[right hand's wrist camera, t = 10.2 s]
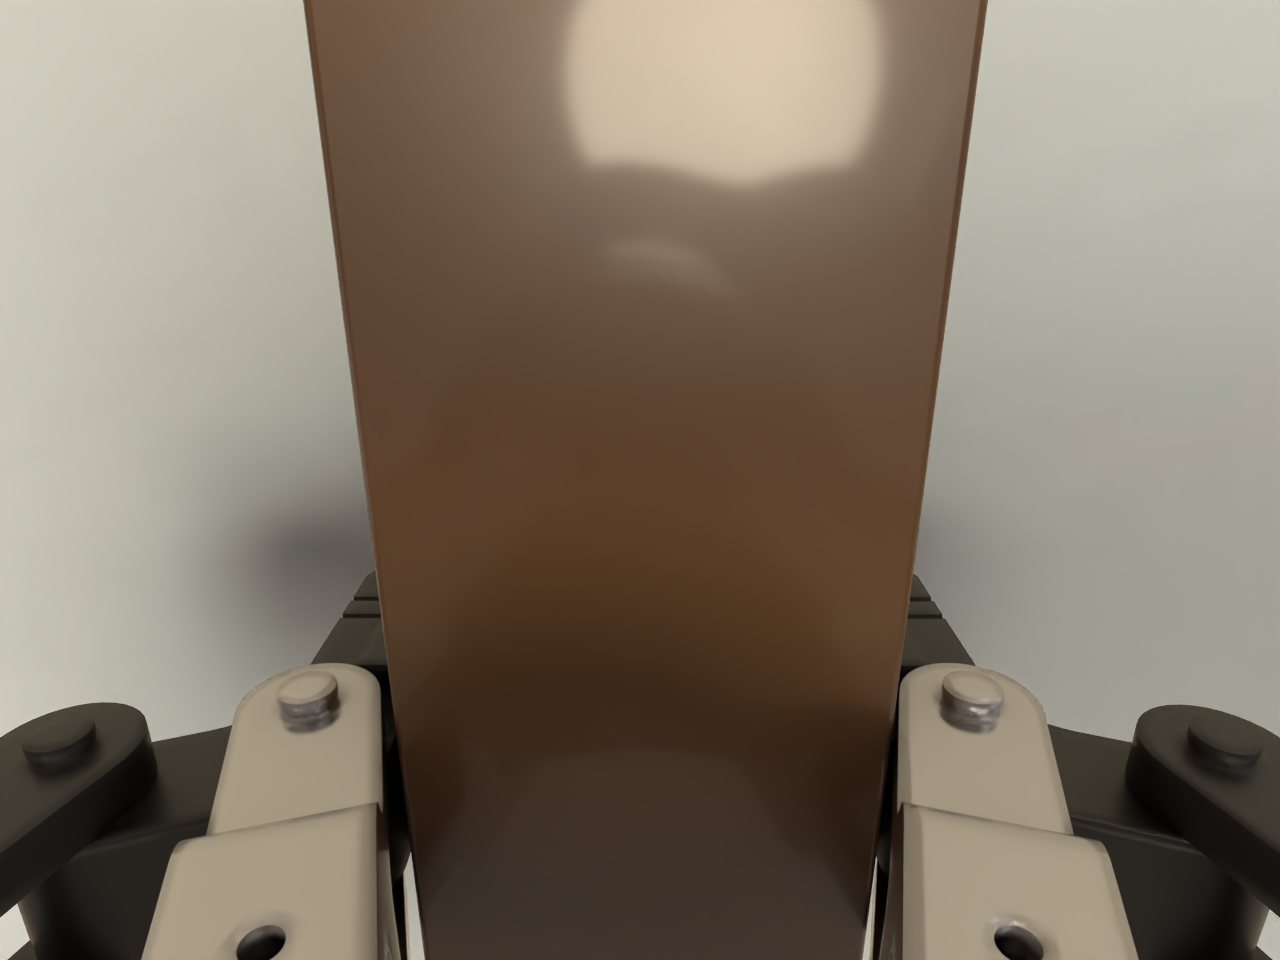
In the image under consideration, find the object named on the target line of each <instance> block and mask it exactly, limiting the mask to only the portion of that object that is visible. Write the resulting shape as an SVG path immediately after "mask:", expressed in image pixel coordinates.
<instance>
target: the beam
mask: <svg viewBox="0 0 1280 960" xmlns="http://www.w3.org/2000/svg"><path fill="white" fill-rule="evenodd" d="M987 3H988V0H303V4H304V12H305V20H306V28H307V36H308V44H309V52H310V60H311V67H312V75H313V83H314V91H315V99H316V107H317V115H318V123H319V130H320V138H321V146H322V154H323V162H324V170H325V178H326V186H327V193H328V201H329V209H330V217H331V225H332V233H333V241H334V248H335V256H336V264H337V272H338V280H339V288H340V296H341V304H342V311H343V319H344V327H345V335H346V343H347V351H348V359H349V367H350V374H351V382H352V390H353V398H354V406H355V414H356V422H357V429H358V437H359V445H360V453H361V461H362V469H363V477H364V485H365V492H366V500H367V508H368V516H369V524H370V532H371V540H372V548H373V555H374V563H375V571H376V579H377V587H378V595H379V603H380V611H381V618H382V626H383V634H384V642H385V650H386V658H387V666H388V674H389V681H390V689H391V697H392V705H393V713H394V721H395V729H396V736H397V744H398V752H399V760H400V768H401V776H402V784H403V792H404V799H405V807H406V815H407V823H408V831H409V839H410V847H411V855H412V862H413V870H414V878H415V886H416V894H417V902H418V910H419V917H420V925H421V933H422V941H423V949H424V957H425V960H862V959H863V951H864V944H865V936H866V928H867V921H868V913H869V905H870V898H871V890H872V882H873V875H874V867H875V860H876V852H877V844H878V837H879V829H880V821H881V814H882V806H883V798H884V791H885V783H886V775H887V768H888V760H889V752H890V745H891V737H892V730H893V722H894V714H895V707H896V699H897V691H898V684H899V676H900V668H901V661H902V653H903V645H904V638H905V630H906V622H907V615H908V607H909V600H910V592H911V584H912V577H913V569H914V561H915V554H916V546H917V538H918V531H919V523H920V515H921V508H922V500H923V492H924V485H925V477H926V470H927V462H928V454H929V447H930V439H931V431H932V424H933V416H934V408H935V401H936V393H937V385H938V378H939V370H940V363H941V355H942V347H943V340H944V332H945V324H946V317H947V309H948V301H949V294H950V286H951V278H952V271H953V263H954V255H955V248H956V240H957V233H958V225H959V217H960V210H961V202H962V194H963V187H964V179H965V171H966V164H967V156H968V148H969V141H970V133H971V125H972V118H973V110H974V103H975V95H976V87H977V80H978V72H979V64H980V57H981V49H982V41H983V34H984V26H985V18H986V11H987Z"/></svg>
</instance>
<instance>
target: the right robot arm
mask: <svg viewBox="0 0 1280 960" xmlns="http://www.w3.org/2000/svg"><path fill="white" fill-rule="evenodd" d="M410 852H411V847H410V839H409V831H408V823H407V815H406V807H405V799H404V792H403V784H402V776H401V768H400V760H399V752H398V744H397V736H396V729H395V721H394V713H393V705H392V697H391V689H390V681H389V674H388V666H387V658H386V650H385V642H384V634H383V626H382V618H381V611H380V603H379V595H378V587H377V579H376V571H374V572H373V573H371V574H370V575H368V576H367V577H366V579H365V580H364V582H363V583H362V585H361V587H360V588H359V590H358V591H357V593H356V594H355V596H354V601H351V602H350V604H349V605H348V607H347V608H346V610H345V611H344V613H343V618H340V619H339V621H338V622H337V624H336V625H335V627H334V629H333V630H332V632H331V633H330V635H329V636H328V638H327V639H326V641H325V643H324V644H323V646H322V647H321V649H320V650H319V652H318V653H317V655H316V657H315V658H314V660H313V661H312V663H311V664H310V665H308V666H303V667H299V668H295V669H292V670H288V671H286V672H283V673H281V674H278V675H276V676H274V677H272V678H270V679H268V680H266V681H264V682H263V683H261V684H259V685H258V686H257V687H255V688H254V689H253V690H251V691H250V692H249V693H248V694H247V695H246V696H245V697H244V698H243V699H242V701H241V702H240V704H239V705H238V707H237V710H236V712H235V716H234V720H233V724H232V725H231V726H228V727H224V728H220V729H216V730H212V731H207V732H202V733H196V734H191V735H186V736H181V737H176V738H171V739H166V740H161V741H156V742H152V741H151V738H150V734H149V730H148V726H147V722H146V719H145V716H144V715H143V714H142V713H141V712H140V711H139V710H137V709H136V708H134V707H131V706H128V705H125V704H119V703H90V704H84V705H78V706H73V707H69V708H65V709H61V710H58V711H55V712H52V713H48V714H46V715H43V716H41V717H38V718H36V719H33V720H31V721H29V722H27V723H25V724H23V725H21V726H19V727H17V728H15V729H14V730H12V731H10V732H9V733H7V734H5V735H4V736H2V737H1V738H0V917H1V916H2V915H4V914H5V913H6V912H7V911H8V910H10V909H11V908H12V907H13V906H14V905H16V904H18V907H19V910H20V912H21V915H22V918H23V921H24V924H25V927H26V929H27V932H28V935H29V938H30V941H28V942H27V943H26V944H25V945H24V946H23V947H22V948H20V949H19V950H18V951H17V952H16V953H15V954H14V955H13V956H11V957H10V958H9V959H8V960H410V945H409V925H408V905H407V890H406V882H405V874H404V870H405V867H406V865H407V862H408V859H409V856H410ZM876 856H877V866H876V874H875V881H874V889H873V903H872V923H871V942H870V960H1272V959H1271V958H1270V957H1269V956H1267V955H1266V954H1265V953H1264V952H1263V951H1262V950H1261V949H1260V948H1258V947H1257V946H1256V945H1257V943H1258V940H1259V937H1260V934H1261V931H1262V928H1263V926H1264V923H1265V920H1266V917H1267V914H1268V912H1269V909H1270V910H1272V911H1273V912H1274V913H1275V914H1276V915H1278V916H1279V917H1280V737H1278V736H1276V735H1275V734H1273V733H1271V732H1269V731H1268V730H1266V729H1264V728H1262V727H1260V726H1258V725H1256V724H1254V723H1252V722H1250V721H1247V720H1245V719H1242V718H1240V717H1237V716H1234V715H1231V714H1228V713H1225V712H1222V711H1218V710H1213V709H1209V708H1204V707H1198V706H1191V705H1166V706H1159V707H1156V708H1153V709H1150V710H1148V711H1146V712H1145V713H1143V714H1142V715H1141V717H1140V718H1139V719H1138V722H1137V725H1136V729H1135V733H1134V737H1133V741H1132V743H1130V742H1125V741H1120V740H1115V739H1110V738H1105V737H1100V736H1095V735H1090V734H1085V733H1080V732H1075V731H1071V730H1067V729H1062V728H1059V727H1056V726H1053V725H1049V724H1047V721H1046V717H1045V713H1044V710H1043V708H1042V705H1041V704H1040V703H1039V701H1038V700H1037V698H1036V697H1035V696H1034V695H1033V694H1032V693H1031V692H1030V691H1028V690H1027V689H1026V688H1025V687H1023V686H1022V685H1020V684H1019V683H1017V682H1016V681H1014V680H1012V679H1010V678H1008V677H1006V676H1004V675H1002V674H999V673H997V672H994V671H991V670H988V669H985V668H981V667H977V666H976V665H975V664H974V662H973V661H972V659H971V658H970V656H969V655H968V653H967V652H966V650H965V649H964V647H963V646H962V644H961V642H960V641H959V639H958V638H957V636H956V635H955V633H954V632H953V630H952V629H951V627H950V626H949V624H948V623H947V621H946V620H945V619H942V613H941V612H940V610H939V609H938V607H937V606H936V604H935V603H934V601H931V597H930V595H929V594H928V592H927V591H926V589H925V587H924V586H923V584H922V583H921V581H920V580H919V578H918V577H917V576H916V575H914V574H913V577H912V584H911V592H910V600H909V607H908V615H907V622H906V630H905V638H904V645H903V653H902V661H901V668H900V676H899V684H898V691H897V699H896V707H895V714H894V722H893V730H892V737H891V745H890V752H889V760H888V768H887V775H886V783H885V791H884V798H883V806H882V814H881V821H880V829H879V837H878V844H877V852H876Z"/></svg>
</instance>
